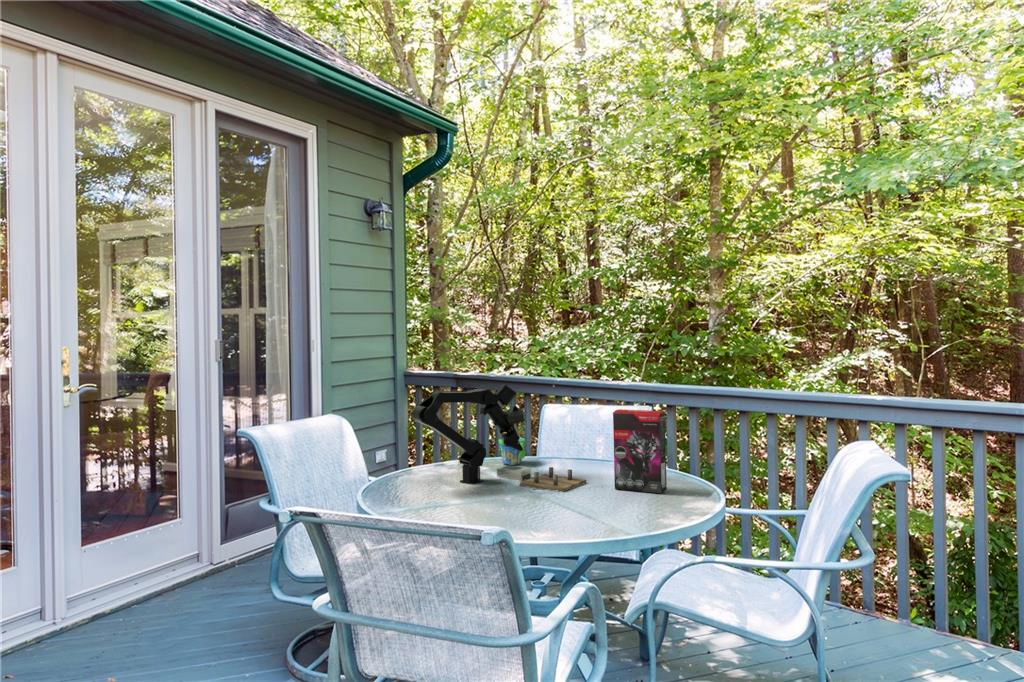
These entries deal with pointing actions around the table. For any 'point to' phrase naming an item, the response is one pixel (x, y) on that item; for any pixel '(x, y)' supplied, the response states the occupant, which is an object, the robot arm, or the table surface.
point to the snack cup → (511, 453)
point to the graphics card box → (639, 450)
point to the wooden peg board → (553, 481)
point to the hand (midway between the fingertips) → (520, 444)
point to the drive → (514, 472)
